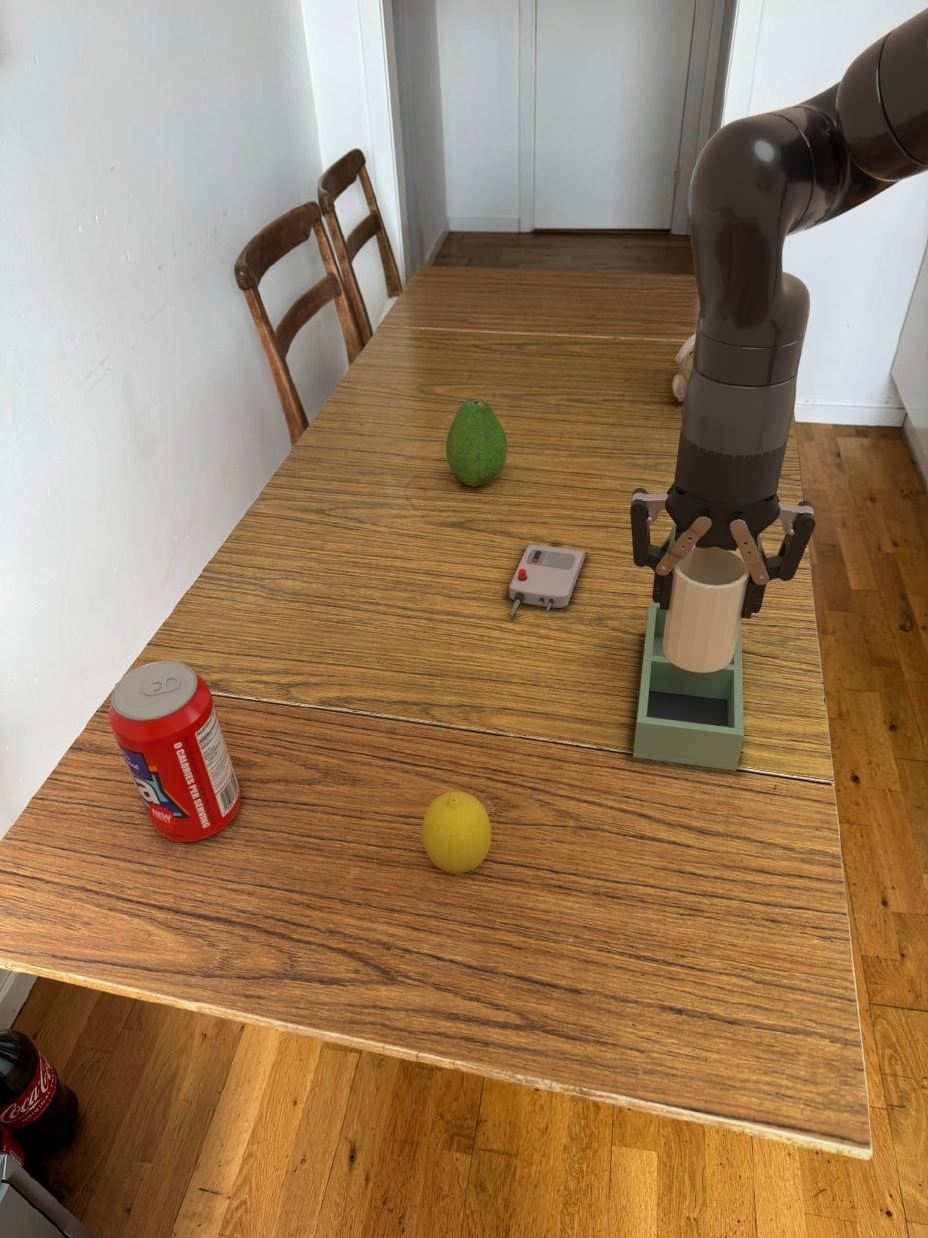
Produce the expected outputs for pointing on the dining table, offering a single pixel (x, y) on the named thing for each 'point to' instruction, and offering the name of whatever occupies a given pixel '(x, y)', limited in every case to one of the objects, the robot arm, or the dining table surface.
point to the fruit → (476, 444)
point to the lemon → (456, 832)
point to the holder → (688, 706)
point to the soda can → (175, 750)
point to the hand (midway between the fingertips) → (704, 607)
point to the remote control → (545, 576)
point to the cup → (705, 609)
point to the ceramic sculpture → (683, 369)
